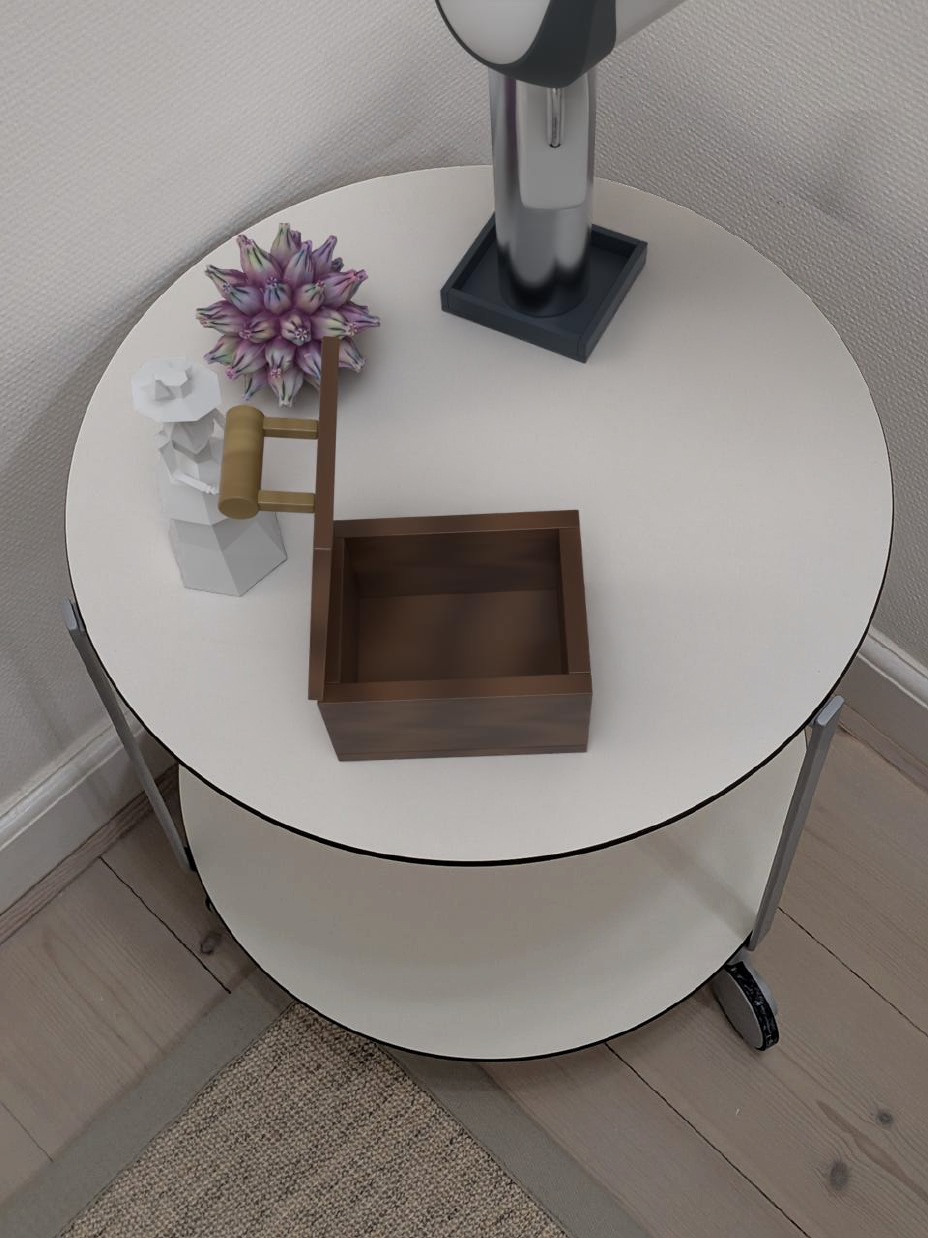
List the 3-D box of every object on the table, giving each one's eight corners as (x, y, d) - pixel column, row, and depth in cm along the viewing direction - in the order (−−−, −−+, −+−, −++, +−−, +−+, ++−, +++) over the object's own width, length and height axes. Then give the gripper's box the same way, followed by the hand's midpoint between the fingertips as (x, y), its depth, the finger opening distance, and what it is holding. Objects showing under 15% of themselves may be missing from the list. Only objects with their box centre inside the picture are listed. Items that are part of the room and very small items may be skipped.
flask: (607, 275, 88) (622, 20, 70) (550, 330, 86) (551, 82, 68) (537, 235, 90) (534, -22, 72) (480, 288, 88) (463, 36, 70)
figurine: (274, 601, 77) (208, 426, 61) (151, 584, 78) (55, 407, 62) (301, 507, 80) (245, 318, 65) (183, 492, 81) (99, 302, 66)
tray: (646, 262, 89) (648, 241, 87) (585, 363, 85) (586, 344, 83) (506, 214, 92) (506, 193, 90) (441, 310, 88) (439, 290, 86)
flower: (391, 336, 89) (376, 449, 81) (224, 331, 89) (194, 444, 81) (383, 190, 80) (366, 301, 72) (198, 185, 80) (162, 296, 73)
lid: (339, 335, 57) (228, 328, 56) (332, 550, 51) (209, 544, 51) (329, 516, 70) (239, 511, 69) (323, 701, 64) (225, 698, 64)
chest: (574, 581, 77) (578, 508, 70) (586, 752, 72) (592, 693, 64) (343, 591, 77) (323, 520, 70) (338, 762, 72) (316, 704, 65)
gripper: (621, 80, 61) (606, 279, 73) (592, -164, 71) (583, 48, 83) (493, 87, 61) (499, 284, 73) (482, -158, 71) (488, 53, 83)
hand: (543, 157), depth 78 cm, fingers closed on flask, 6 cm apart
